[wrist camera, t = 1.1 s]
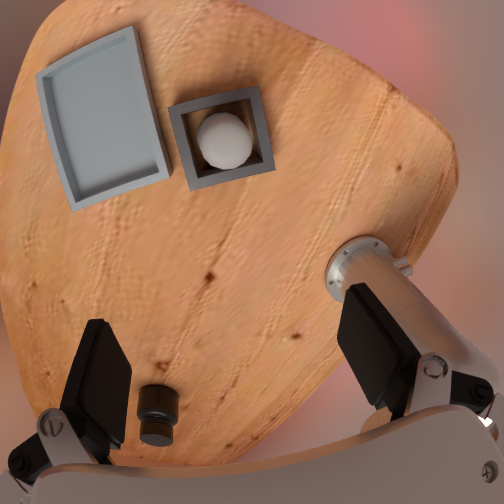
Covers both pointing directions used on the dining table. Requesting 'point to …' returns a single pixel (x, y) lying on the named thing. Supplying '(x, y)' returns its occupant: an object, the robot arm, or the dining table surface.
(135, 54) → the tray
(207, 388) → the dining table surface
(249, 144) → the salt shaker
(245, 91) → the holder
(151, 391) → the ink bottle
